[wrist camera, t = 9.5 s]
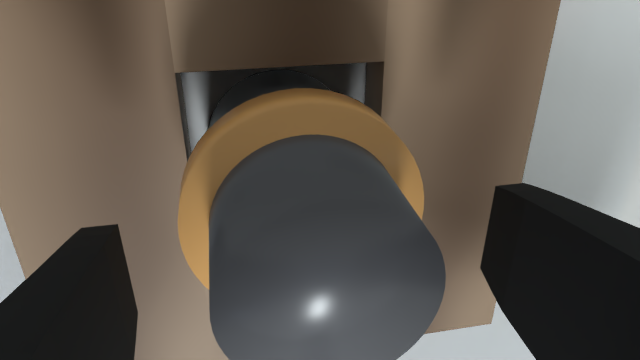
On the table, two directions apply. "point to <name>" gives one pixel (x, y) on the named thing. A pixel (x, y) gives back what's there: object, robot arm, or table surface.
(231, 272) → the plug
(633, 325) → the robot arm
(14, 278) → the table surface
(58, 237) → the socket block
